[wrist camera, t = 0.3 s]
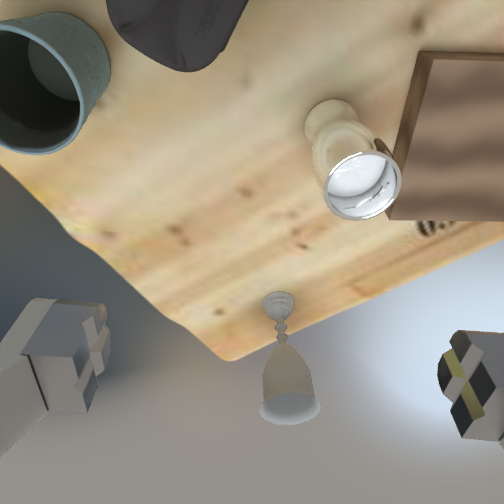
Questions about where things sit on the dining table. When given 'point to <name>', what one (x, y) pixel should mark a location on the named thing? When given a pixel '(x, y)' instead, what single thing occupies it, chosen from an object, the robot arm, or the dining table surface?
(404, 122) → the walnut base
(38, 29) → the grey-green cup
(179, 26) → the coffee jar
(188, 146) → the dining table surface
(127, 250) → the dining table surface
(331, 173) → the beer glass
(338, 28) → the dining table surface
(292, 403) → the chalice
